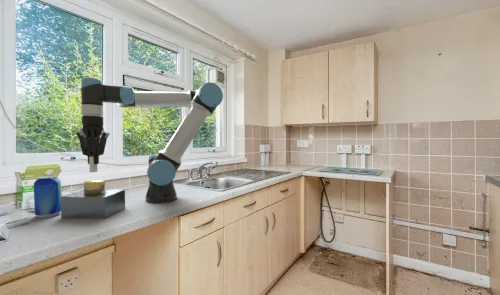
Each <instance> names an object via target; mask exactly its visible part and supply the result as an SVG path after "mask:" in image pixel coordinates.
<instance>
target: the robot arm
mask: <svg viewBox="0 0 500 295" xmlns="http://www.w3.org/2000/svg"><path fill="white" fill-rule="evenodd" d="M103 82H104V81H103V80H102V79H100V78H97V77H92V76H91V77H83V78H82V79H81V82H80V83H81V86H80V95H81V97H80V98H81V99H80V100H81V104H80V105H81V106H80V107H81V110H80V111H81V115H82V116H81V125H82V128H81V131H78V132H76V136H77V138H78V141H79V144H80V149H81V152H82V155H83V156H87V164H88V165H89V173H96V172H98V164H99V163H100V156H103V155H104V153H105V149H106V146H107V139H108V138H109V135H110V133H109V132H106V131H105V130H104V127H103V126H104V117H103V115H104V103H108V104H109V103H111V104H115V105H117V106H118V107H120V108H124V109H125V108H130V107H132V108H134V107H136V108H137V107H139V108H140V107H141V108H142V107H145V108H146V107H147V108H148V107H149V108H150V107H151V108H152V107H153V108H155V107H156V108H188V109H189V110H188V112H187V113H186V115H185V116H184V118H183V120H181V123H180V124H179V125H178V127H177V129H176V130H175V132H174V133H173V135H172V136H171V138H170V140H169V141H168V142H167V143H166V146H165V147H164V149H162V150H161V149H160V150H159V151H158V152H157V153H156V154H152V155H149V156H148V159H147V160H148V167H147V170H146V173H147V174H146V175H147V178H148V188H147V190H146V194H145V202H147V203H149V204H151V203H152V204H161V203H167V202H172V201H175V200H176V199H177V196H178V194H177V190H176V188H175V185H174V179H175V177H176V174H177V171H178V170H179V168H180V167H181V165H182V157H183V156H184V154H185V152H186V151H187V149H188V147H189V146H190V144H191V143H192V141H193V140H194V138H195V136H196V135H197V133H198V132H199V130H200V129H201V127H202V125H203V124H204V123H205V120H206V118H209V117H212V116H213V114H214V112H215V111H216V109H217V107H218V106H219V105H221V103H222V102H223V99H224V93H223V91H222V88H221V87H220V86H219V84H217V83H214V82H206V83H203V84H201V85H200V87H199V88H198V89H196V90H188V91H187V92H185V91H184V92H183V91H181V92H180V91H148V90H147V91H140V90H139V91H138V90H137V91H136V90H134V88H133V87H132V86H128V85H115V84H106V83H103Z"/></svg>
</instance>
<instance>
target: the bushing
mask: <svg viewBox="0 0 500 295" xmlns="http://www.w3.org/2000/svg"><path fill="white" fill-rule="evenodd" d="M105 189H106V180H105V179H91V180H86V181H83V190H84V195H97V194H102V193H105Z"/></svg>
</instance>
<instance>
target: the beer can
mask: <svg viewBox="0 0 500 295" xmlns="http://www.w3.org/2000/svg"><path fill="white" fill-rule="evenodd" d="M61 182H62V181H61V180H60V179H59V178H58V175H42V176H37V177H36V179H35V181H34V182H33V198H34V199H33V200H34V201H33V202H34V205H33V207H34V215H35V216H36V217H37V218H38V219H45V218H52V217H55V216H58V215H60V214H61V197H62V184H61Z"/></svg>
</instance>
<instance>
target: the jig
mask: <svg viewBox="0 0 500 295" xmlns="http://www.w3.org/2000/svg"><path fill="white" fill-rule="evenodd" d="M125 209H126V190H125V189H109V188H108V189H106V188H105V193H102V194H97V195H84V189H83V190H79V191H75V192H72V193H69V194H65V195H61V212H60V219H95V220H96V219H101V220H103V219H104V220H105V219H107V218H109V217H111V216H113V215H115V214H116V213H119V212H121V211H122V210H125Z"/></svg>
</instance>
